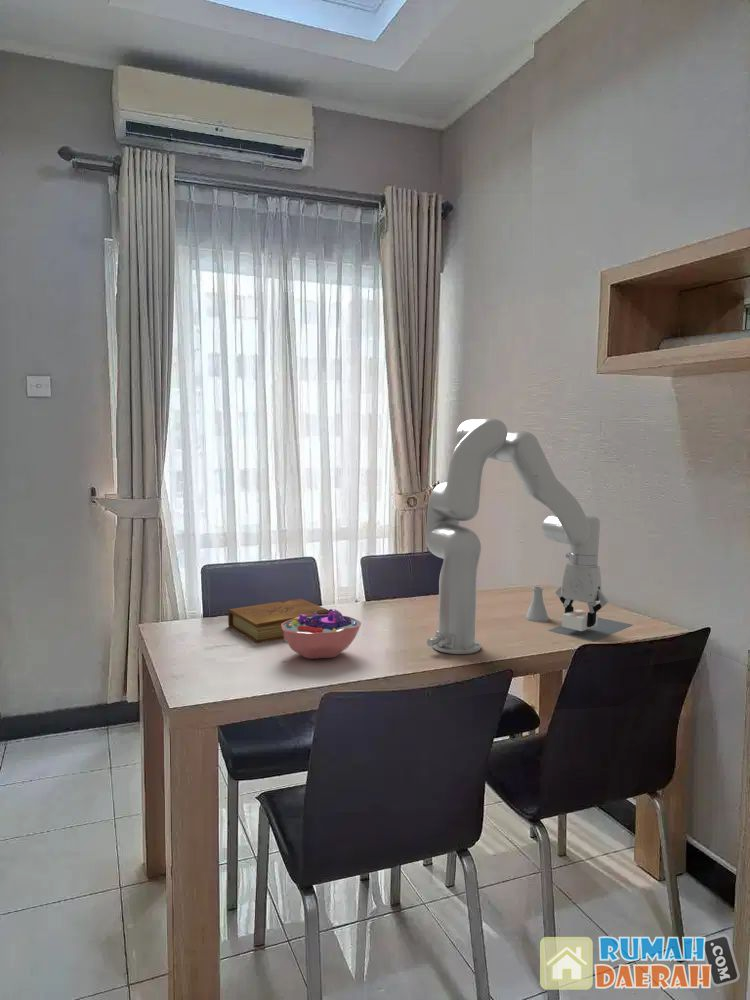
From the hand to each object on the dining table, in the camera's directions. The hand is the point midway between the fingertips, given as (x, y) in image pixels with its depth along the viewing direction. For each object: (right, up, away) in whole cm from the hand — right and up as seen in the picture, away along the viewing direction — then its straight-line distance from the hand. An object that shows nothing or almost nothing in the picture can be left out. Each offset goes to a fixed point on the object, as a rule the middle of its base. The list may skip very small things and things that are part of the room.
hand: (579, 622), depth 192 cm
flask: (-9, -2, +14) cm, 16 cm away
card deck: (0, -1, 0) cm, 1 cm away
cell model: (-71, -4, -22) cm, 74 cm away
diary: (-84, -2, +2) cm, 84 cm away
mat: (+5, -3, +5) cm, 7 cm away
